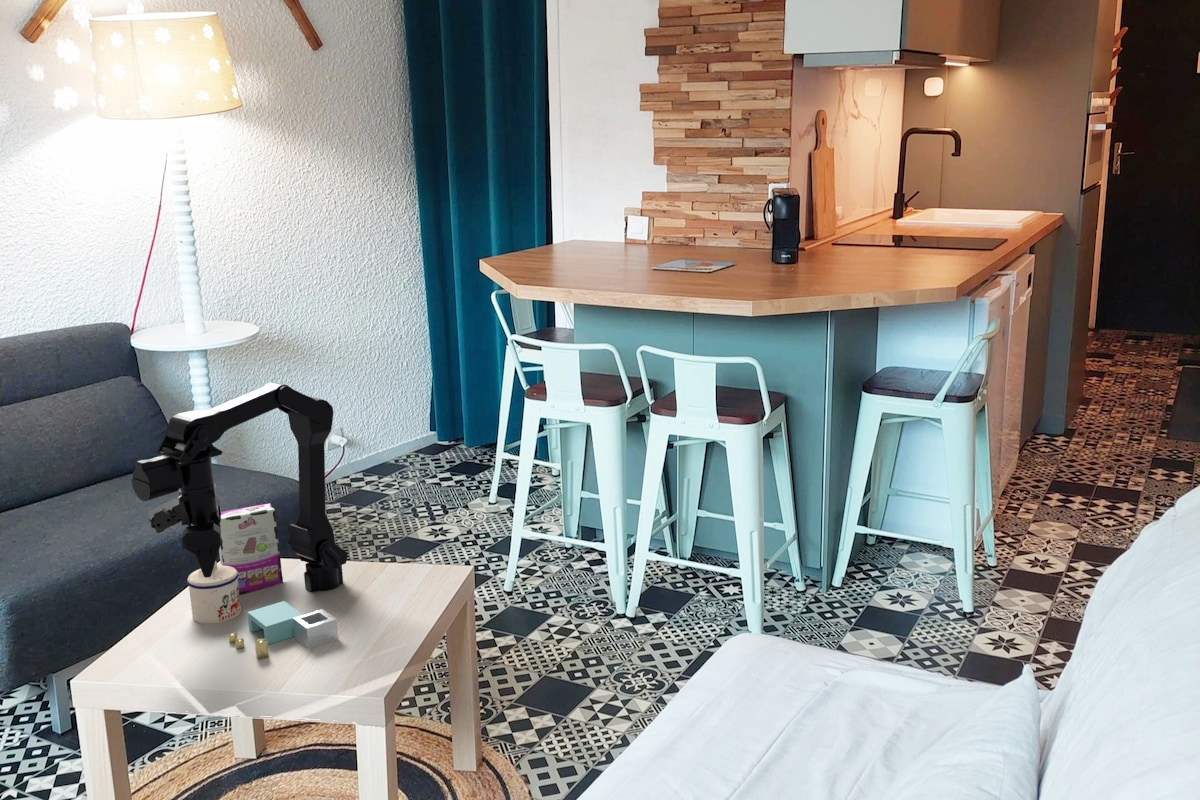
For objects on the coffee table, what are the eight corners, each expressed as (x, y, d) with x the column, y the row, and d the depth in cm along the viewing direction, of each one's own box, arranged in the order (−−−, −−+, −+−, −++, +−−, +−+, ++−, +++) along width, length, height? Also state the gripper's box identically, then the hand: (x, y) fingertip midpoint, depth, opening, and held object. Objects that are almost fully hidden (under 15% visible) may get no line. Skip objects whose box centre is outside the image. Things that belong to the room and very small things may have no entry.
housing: (285, 618, 203) (284, 600, 202) (304, 632, 197) (303, 614, 196) (249, 629, 199) (247, 612, 198) (267, 644, 193) (266, 626, 192)
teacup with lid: (226, 632, 201) (220, 573, 198) (182, 628, 203) (174, 569, 200) (259, 604, 212) (253, 548, 210) (217, 601, 214) (211, 545, 212)
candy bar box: (278, 577, 225) (271, 501, 221) (283, 586, 221) (276, 509, 217) (222, 588, 220) (213, 511, 216) (226, 597, 216) (217, 519, 212)
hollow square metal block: (323, 629, 199) (321, 608, 198) (338, 639, 195) (336, 618, 194) (294, 638, 195) (292, 618, 194) (308, 649, 191) (306, 628, 190)
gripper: (150, 474, 198) (162, 554, 202) (144, 508, 181) (157, 595, 185) (215, 466, 201) (225, 545, 205) (215, 499, 184) (226, 584, 188)
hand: (207, 567), depth 196 cm, fingers open, 9 cm apart
